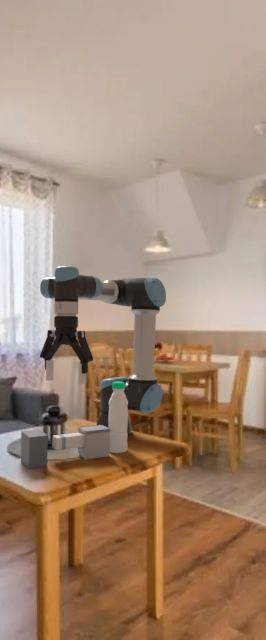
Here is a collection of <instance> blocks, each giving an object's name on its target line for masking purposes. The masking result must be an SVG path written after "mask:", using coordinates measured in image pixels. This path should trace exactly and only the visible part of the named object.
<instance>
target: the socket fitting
mask: <svg viewBox="0 0 266 640" xmlns="http://www.w3.org/2000/svg"><path fill="white" fill-rule="evenodd" d="M20 432H21V435H20V436H21V437H20V439H21V440H20V462H22V464H23V465H24V466H25V467H26V468H27V469H29V470H32V469H37V468H44V467H48V445H49V444H48V440H49V439H48V438H49V436H48V434H47V433H45V432H44V431H42V430H40V429H29V430H22V431H20Z"/></svg>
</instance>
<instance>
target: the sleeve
mask: <svg viewBox="0 0 266 640" xmlns="http://www.w3.org/2000/svg"><path fill="white" fill-rule="evenodd" d="M79 432H83V433H84V434H85V447H79V448H77V454H78V453H79V454H80V455H81V456H82V457H81V456H80V455H79V456H80V457H81V458H83V459H85V460H93V459H97V458H98V459H101V458H106V457H107V458H108V457H110V455H111V452H110V429H109V428H107V427H105V426H103V425H96V424H95V425H87V426H79V427H78V429H77V433H79Z"/></svg>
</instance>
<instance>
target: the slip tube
mask: <svg viewBox="0 0 266 640" xmlns="http://www.w3.org/2000/svg"><path fill="white" fill-rule="evenodd" d="M51 444H52V449H54V450H55V451H64V450H65V451H66V450H71V449H78V448H79V447H85V434H84V433H83V432H79V433H78V432H73V433H63V434H56V435H55V434H54V435H52V443H51Z"/></svg>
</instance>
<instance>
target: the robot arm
mask: <svg viewBox="0 0 266 640" xmlns="http://www.w3.org/2000/svg"><path fill="white" fill-rule="evenodd" d="M39 290H40V291H39V292H40V294H41V295H42V296H43V297H44V298H46V299H51V300H52V299H54V314H55V316H54V318H53V326H54V328H55V329H48V330H47V333H46V338H45V340H44V344H43V346H42V349H41V350H40V351H41V352H40V354H39V358H41V359H43V360H44V370H45V381H54V366H55V365H54V361H55V360H54V359H53V358H54V356H55V354H56V353H57V351H58V350H59V349H60V347H61V346H63V345H65V346H70V347H71V348H72V350H73V352H74V353H75V354H76V356H77V358H78V360H79V361H80V362H79V363H78V385H85V384H87V373H88V372H89V371H88V369H89V367H88V364H89V363H90V362H93V361H94V357H93V354H92V351H91V349H90V346H89V343H88V340H87V337H86V332H85V331H84V330H77V329H78V327H79V317H78V316H77V315H78V314H79V300H86V301H101V302H103V303H104V304H111V305H115V306H121V307H131V308H130V309H131V310H130V311H131V312H132V314H133V315H134V325H133V326H134V329H133V349H132V351H133V353H132V354H133V355H132V373H131V375H129V377H128V376H119V377H118V376H117V377H109V378H103V379H102V380H101V381H100V385H99V387H100V389H99V416H98V418H97V421H96V424H95V425H103V426H105V427H107V428H109V425H108V416H109V400H110V398H111V395H112V393H113V388H112V383H113V382H124V383H125V390H124V393H125V395H126V398H127V400H128V406H127V407H128V411H135V412H140V413H153V412H155V411H156V410H158V409H159V406H160V405H161V402H162V399H163V395H164V394H163V388H162V386H161V384H159V383H158V377H156V376H155V373H154V372H155V353H156V352H155V349H156V347H155V344H156V343H155V342H156V321H157V315H158V314H159V313H160V312H161V311H160V310H161V309H160V308H161V307H163V306H164V305H165V302H166V300H167V292H166V288H165V285H164V284H163V282H162V280H160V279H159V278H157V277H140V278H139V277H136V278H135V277H134V278H122V279H114V280H113V279H112V280H111V279H107V280H105V281H102V280H101V279H100V278H98V277H97V276H93V275H86V274H85V275H83V274H80V272H79V268H78V267H76V266H69V265H65V266H64V265H63V266H58V267H56V268H55V270H54V276H50V277H48V276H47V277H44V278H43V279H42V280H41V281H40V284H39ZM127 434H128V435H131V434H132V425H131V422H130V418H129V416H128V426H127Z"/></svg>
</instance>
